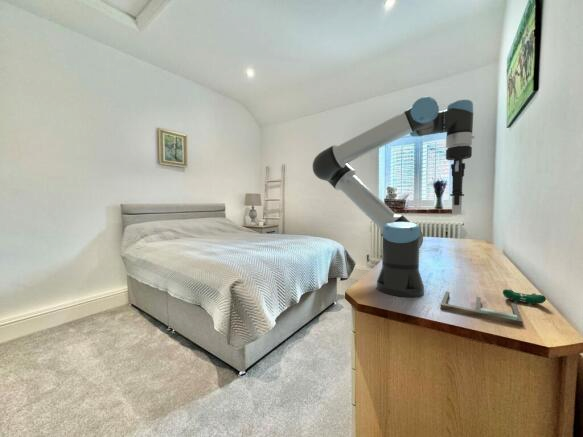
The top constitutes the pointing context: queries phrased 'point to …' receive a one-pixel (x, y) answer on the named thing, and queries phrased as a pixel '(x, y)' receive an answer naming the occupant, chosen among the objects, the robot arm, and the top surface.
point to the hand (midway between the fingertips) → (456, 214)
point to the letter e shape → (485, 312)
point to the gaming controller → (524, 297)
